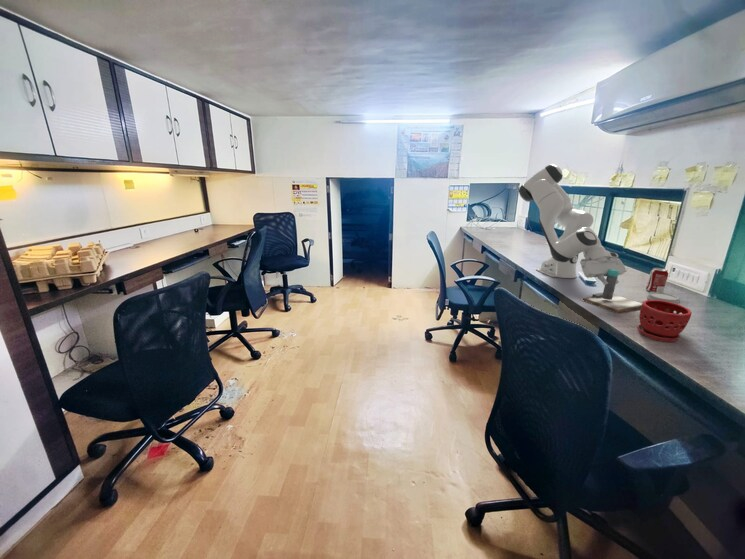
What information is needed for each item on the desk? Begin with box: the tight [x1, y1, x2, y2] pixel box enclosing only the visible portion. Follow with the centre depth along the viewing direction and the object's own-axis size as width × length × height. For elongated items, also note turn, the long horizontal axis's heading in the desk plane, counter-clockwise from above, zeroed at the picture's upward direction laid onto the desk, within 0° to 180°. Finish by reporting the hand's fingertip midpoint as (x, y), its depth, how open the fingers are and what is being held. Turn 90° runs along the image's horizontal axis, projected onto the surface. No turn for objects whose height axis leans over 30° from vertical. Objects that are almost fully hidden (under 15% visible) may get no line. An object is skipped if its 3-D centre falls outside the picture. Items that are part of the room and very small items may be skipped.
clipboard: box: [582, 292, 643, 314], centre depth 144 cm, size 16×19×2 cm
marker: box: [602, 269, 619, 300], centre depth 142 cm, size 4×4×13 cm
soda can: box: [645, 267, 669, 293], centre depth 158 cm, size 7×7×12 cm
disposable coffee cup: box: [646, 292, 680, 312], centre depth 122 cm, size 10×10×12 cm
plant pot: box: [636, 299, 692, 343], centre depth 112 cm, size 13×13×12 cm
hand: (611, 283), depth 142 cm, fingers closed on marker, 4 cm apart
